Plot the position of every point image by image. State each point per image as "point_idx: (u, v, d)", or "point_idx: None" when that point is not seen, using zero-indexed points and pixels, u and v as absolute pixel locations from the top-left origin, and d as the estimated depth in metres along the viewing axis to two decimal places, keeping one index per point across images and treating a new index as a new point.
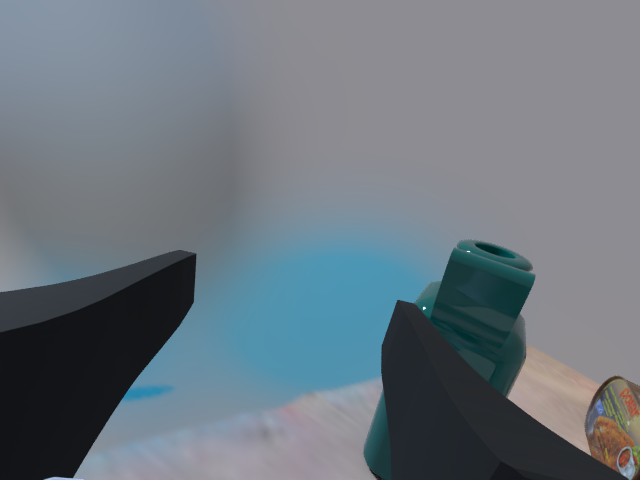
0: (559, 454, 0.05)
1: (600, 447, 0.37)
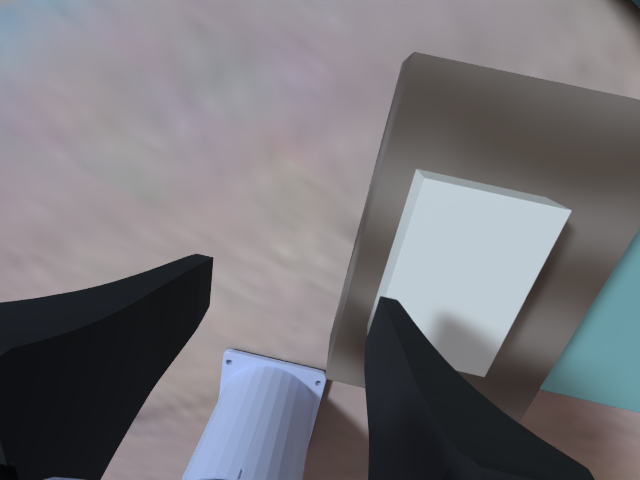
0: (520, 445, 0.05)
1: None
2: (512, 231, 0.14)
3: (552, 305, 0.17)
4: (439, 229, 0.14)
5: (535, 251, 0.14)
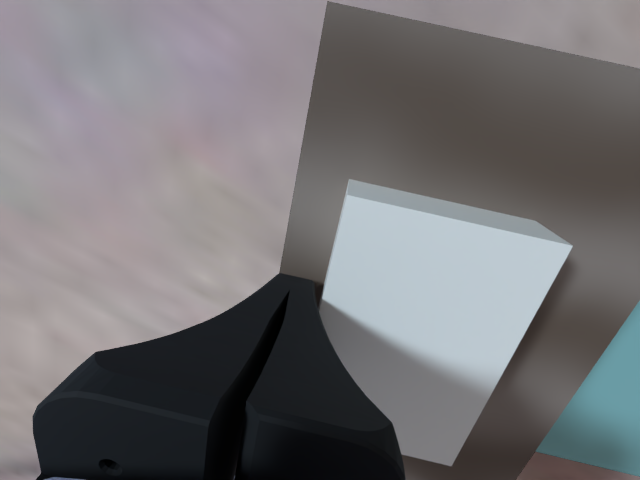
0: (334, 401, 0.05)
1: None
2: (483, 275, 0.09)
3: (541, 365, 0.13)
4: (375, 270, 0.10)
5: (518, 304, 0.09)
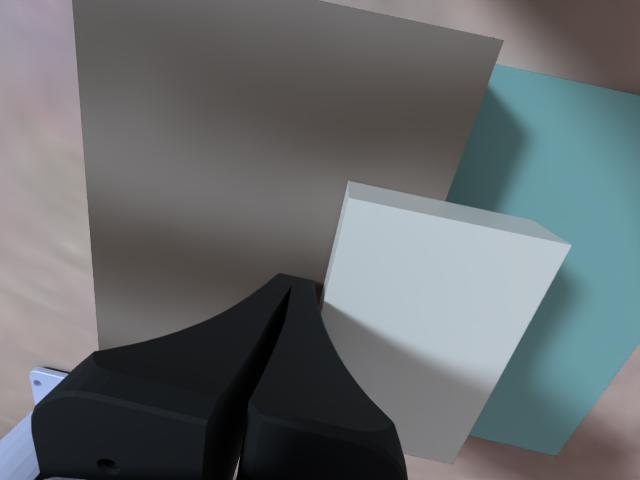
0: (336, 402, 0.05)
1: None
2: (484, 275, 0.09)
3: None
4: (377, 273, 0.10)
5: (518, 303, 0.10)
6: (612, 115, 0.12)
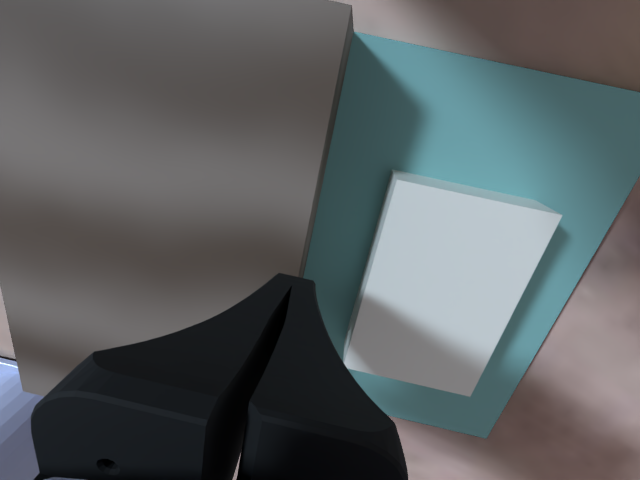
0: (337, 402, 0.05)
1: None
2: None
3: None
4: None
5: None
6: (503, 89, 0.12)
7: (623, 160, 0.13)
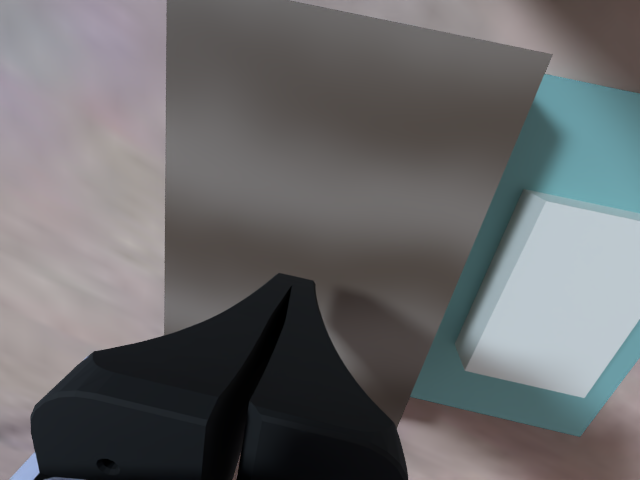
0: (336, 402, 0.05)
1: None
2: None
3: (402, 307, 0.14)
4: None
5: None
6: None
7: None
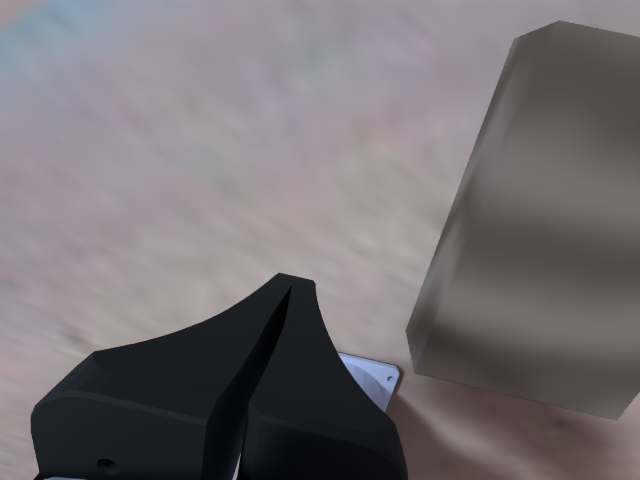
0: (337, 402, 0.05)
1: None
2: None
3: None
4: None
5: None
6: None
7: None
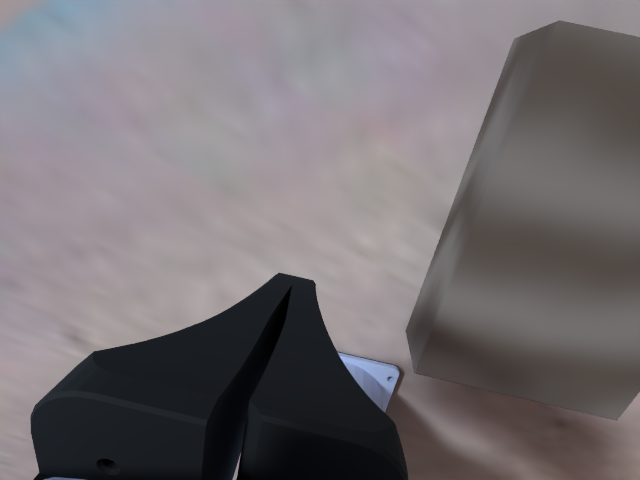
0: (337, 402, 0.05)
1: None
2: None
3: None
4: None
5: None
6: None
7: None
